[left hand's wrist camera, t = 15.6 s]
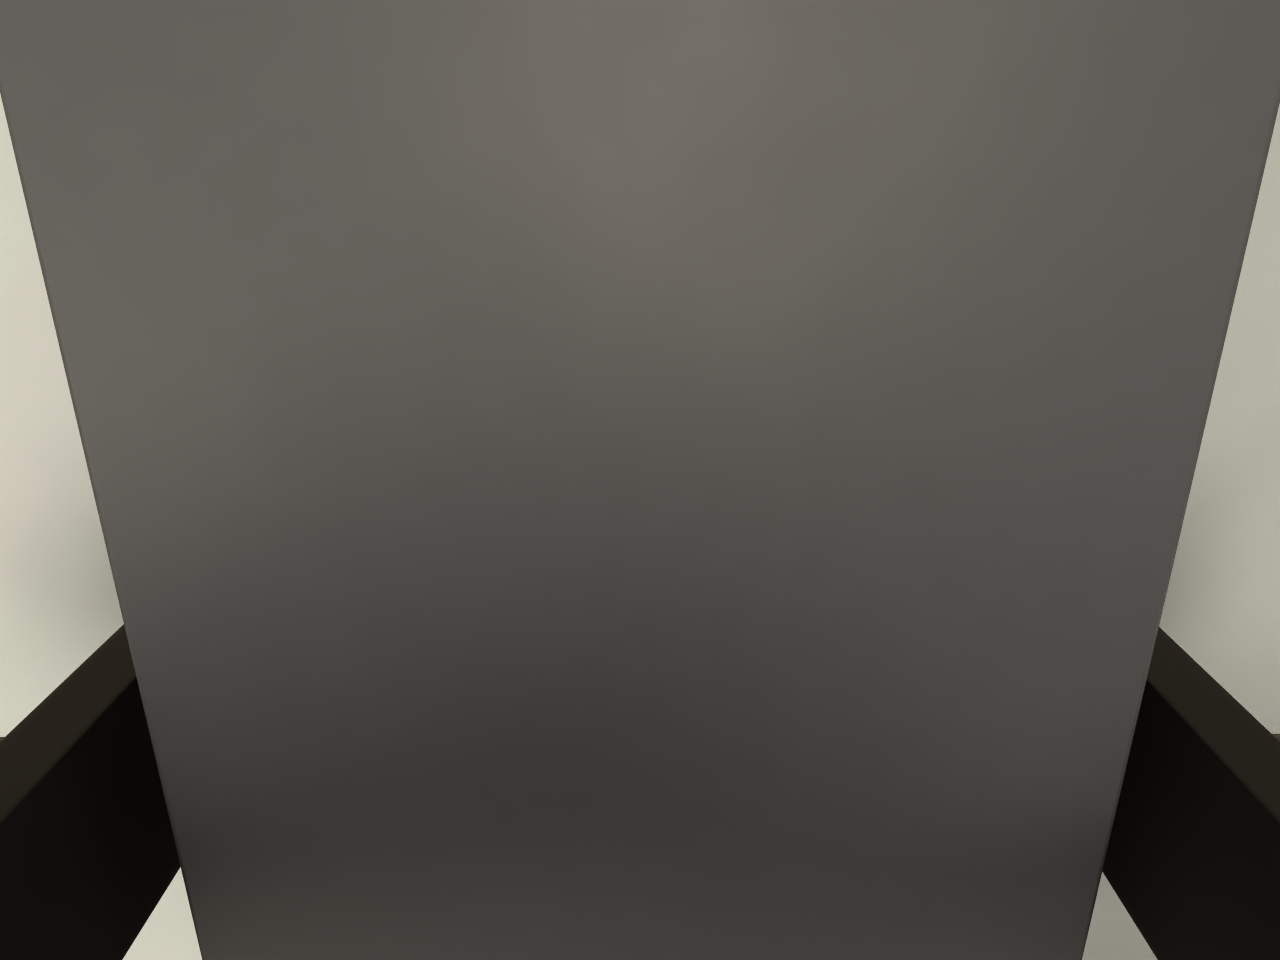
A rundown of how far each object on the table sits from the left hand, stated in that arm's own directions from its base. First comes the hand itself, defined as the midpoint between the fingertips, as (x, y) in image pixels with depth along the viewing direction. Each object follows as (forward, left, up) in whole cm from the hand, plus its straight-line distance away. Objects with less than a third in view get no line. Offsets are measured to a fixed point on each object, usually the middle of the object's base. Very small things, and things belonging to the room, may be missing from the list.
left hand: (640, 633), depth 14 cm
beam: (+33, 0, -2) cm, 33 cm away
